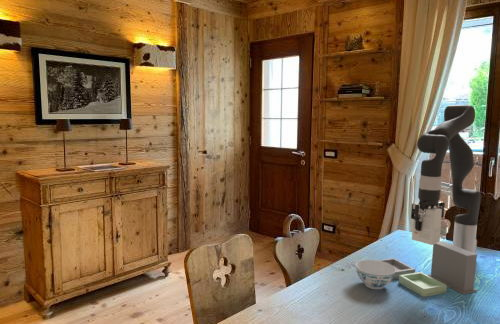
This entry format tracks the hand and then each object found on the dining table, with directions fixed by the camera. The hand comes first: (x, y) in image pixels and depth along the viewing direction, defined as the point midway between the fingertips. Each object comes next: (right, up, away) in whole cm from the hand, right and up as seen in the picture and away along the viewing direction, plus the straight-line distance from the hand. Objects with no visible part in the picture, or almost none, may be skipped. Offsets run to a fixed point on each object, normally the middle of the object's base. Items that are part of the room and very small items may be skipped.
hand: (426, 229), depth 148 cm
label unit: (+13, -23, +7) cm, 27 cm away
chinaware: (-19, -23, +3) cm, 30 cm away
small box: (0, -5, +1) cm, 5 cm away
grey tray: (-6, -21, +18) cm, 28 cm away
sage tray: (-1, -23, +3) cm, 23 cm away
